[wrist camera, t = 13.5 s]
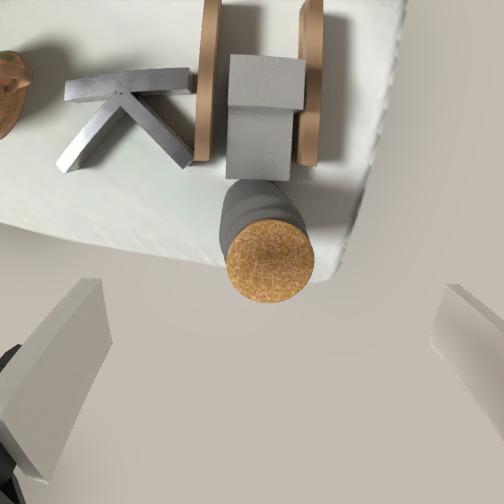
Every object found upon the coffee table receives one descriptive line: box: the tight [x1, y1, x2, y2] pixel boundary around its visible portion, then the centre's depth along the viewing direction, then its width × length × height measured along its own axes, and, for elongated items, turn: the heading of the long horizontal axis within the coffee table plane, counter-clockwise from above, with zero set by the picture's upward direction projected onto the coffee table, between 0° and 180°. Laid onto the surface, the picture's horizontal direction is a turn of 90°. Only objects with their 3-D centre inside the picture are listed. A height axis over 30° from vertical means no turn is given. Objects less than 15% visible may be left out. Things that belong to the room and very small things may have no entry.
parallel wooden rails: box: [194, 0, 323, 167], centre depth 24 cm, size 16×10×4 cm, turn 177°
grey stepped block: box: [226, 54, 305, 181], centre depth 25 cm, size 10×6×7 cm, turn 177°
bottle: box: [219, 179, 314, 303], centre depth 24 cm, size 6×6×15 cm
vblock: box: [56, 68, 194, 173], centre depth 26 cm, size 9×14×3 cm, turn 87°
